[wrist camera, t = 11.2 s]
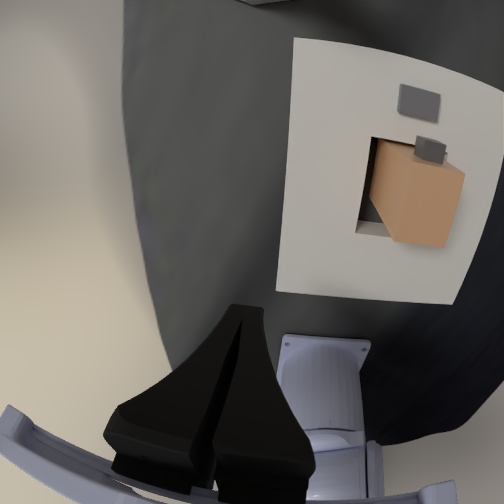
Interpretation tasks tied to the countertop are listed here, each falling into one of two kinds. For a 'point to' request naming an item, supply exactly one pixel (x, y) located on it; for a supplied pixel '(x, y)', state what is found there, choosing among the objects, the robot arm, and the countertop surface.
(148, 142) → the countertop surface
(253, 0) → the flask
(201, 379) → the robot arm
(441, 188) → the plug
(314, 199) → the socket
